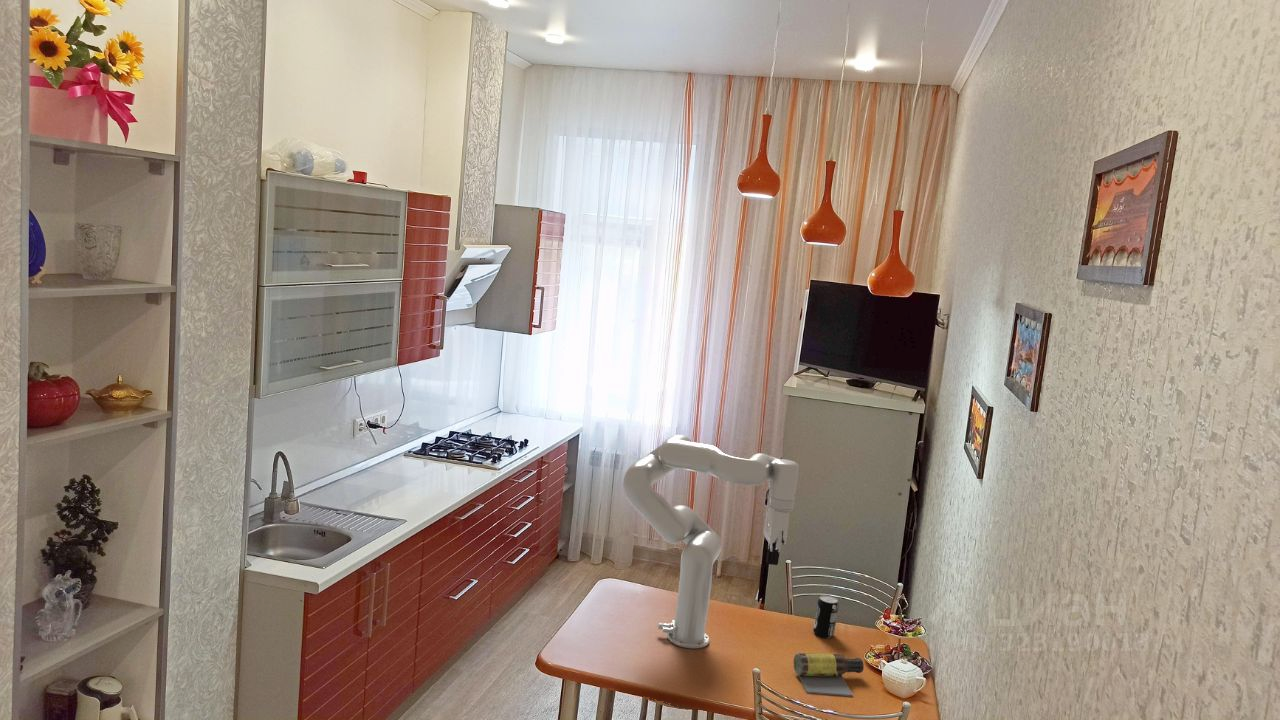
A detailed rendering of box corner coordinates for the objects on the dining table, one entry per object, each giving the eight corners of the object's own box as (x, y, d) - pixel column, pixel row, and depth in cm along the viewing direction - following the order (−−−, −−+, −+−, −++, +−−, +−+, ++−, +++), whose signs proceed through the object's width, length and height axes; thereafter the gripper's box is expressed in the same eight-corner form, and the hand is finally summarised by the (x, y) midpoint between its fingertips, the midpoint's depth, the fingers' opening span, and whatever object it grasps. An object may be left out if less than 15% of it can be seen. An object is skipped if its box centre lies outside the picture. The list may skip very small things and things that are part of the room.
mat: (806, 692, 253) (806, 691, 253) (794, 666, 268) (794, 665, 268) (852, 696, 254) (852, 694, 254) (837, 670, 269) (838, 668, 269)
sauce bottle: (800, 678, 259) (865, 680, 263) (801, 655, 259) (867, 658, 263) (791, 671, 265) (855, 673, 269) (793, 649, 265) (857, 651, 269)
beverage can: (810, 629, 296) (815, 593, 294) (830, 630, 297) (835, 595, 295) (815, 638, 290) (821, 602, 288) (836, 639, 290) (841, 603, 288)
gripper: (762, 493, 272) (754, 553, 274) (773, 509, 257) (764, 572, 260) (787, 496, 272) (778, 555, 275) (799, 512, 257) (790, 574, 260)
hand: (771, 563), depth 267 cm, fingers closed
